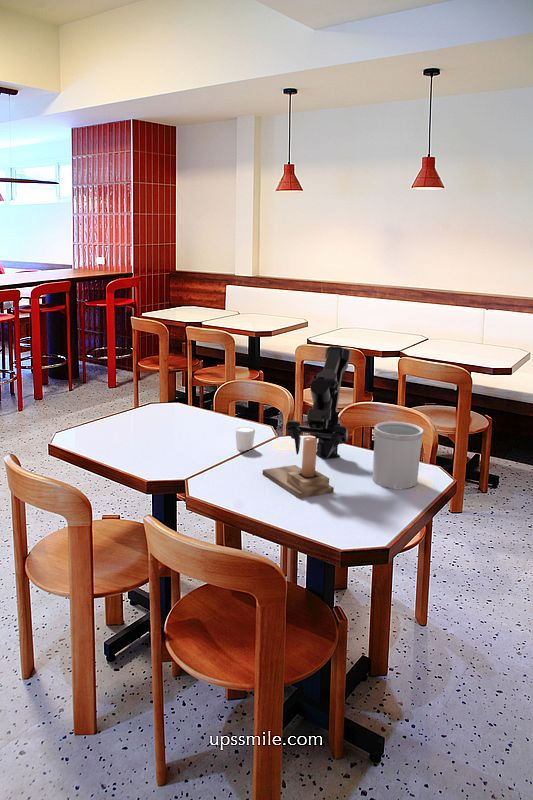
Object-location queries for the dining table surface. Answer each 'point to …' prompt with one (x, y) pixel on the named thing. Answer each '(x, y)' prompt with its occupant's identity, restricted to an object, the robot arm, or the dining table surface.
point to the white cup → (244, 438)
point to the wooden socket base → (299, 481)
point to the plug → (309, 456)
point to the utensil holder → (396, 454)
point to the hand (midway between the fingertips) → (312, 455)
